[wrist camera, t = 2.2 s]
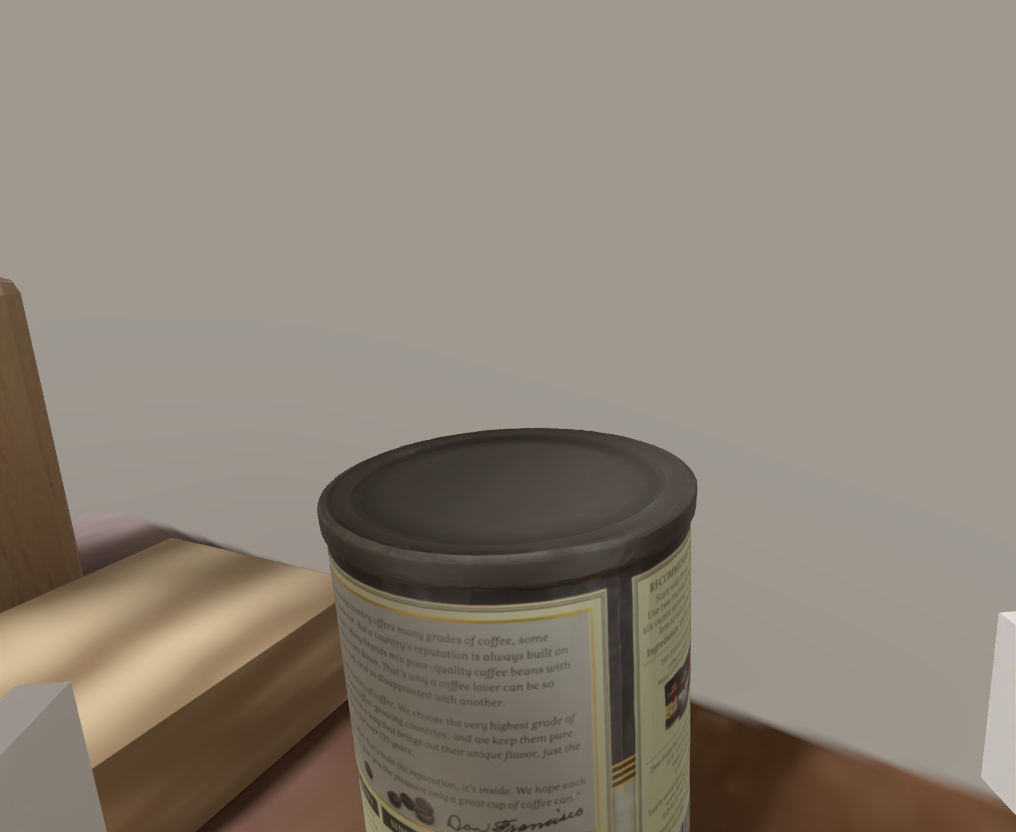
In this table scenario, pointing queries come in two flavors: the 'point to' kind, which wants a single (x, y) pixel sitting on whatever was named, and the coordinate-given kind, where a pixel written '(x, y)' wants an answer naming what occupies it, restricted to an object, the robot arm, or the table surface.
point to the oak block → (182, 674)
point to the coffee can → (517, 631)
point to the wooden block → (28, 472)
